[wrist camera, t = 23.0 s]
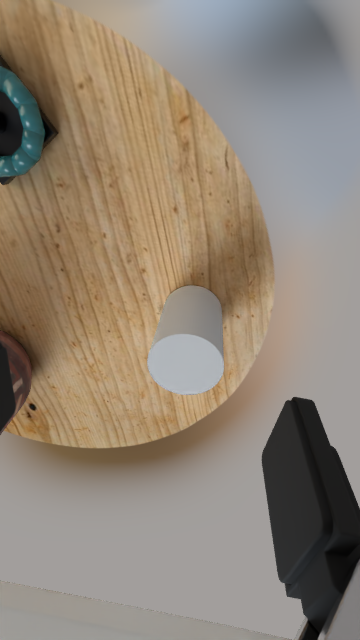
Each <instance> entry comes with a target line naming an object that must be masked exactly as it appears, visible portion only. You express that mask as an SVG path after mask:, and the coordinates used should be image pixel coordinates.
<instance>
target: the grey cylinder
mask: <svg viewBox="0 0 360 640" xmlns="http://www.w3.org/2000/svg"><path fill="white" fill-rule="evenodd" d="M147 365H148V370H149V372H150V374H151V376H152V378H153V379H154V380H155V381H156V382H157V383H158V384H159V385H160V386H161V387H163V388H164V389H166V390H168V391H171V392H173V393H177V394H183V395H194V394H199V393H203V392H205V391H208V390H209V389H211V388H212V387H214V386H215V385H216V384H217V383H218V382H219V380H220V379H221V377H222V374H223V371H224V356H223V328H222V308H221V304H220V302H219V300H218V298H217V297H216V296H215V295H214V294H213V293H212V292H211V291H209V290H208V289H206V288H203V287H200V286H193V285H191V286H184V287H181V288H178V289H176V290H175V291H173V292H172V293H171V294H170V295H169V296H168V298H167V299H166V302H165V304H164V308H163V311H162V314H161V317H160V320H159V323H158V326H157V330H156V333H155V336H154V339H153V342H152V345H151V349H150V352H149V355H148V360H147Z"/></svg>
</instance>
